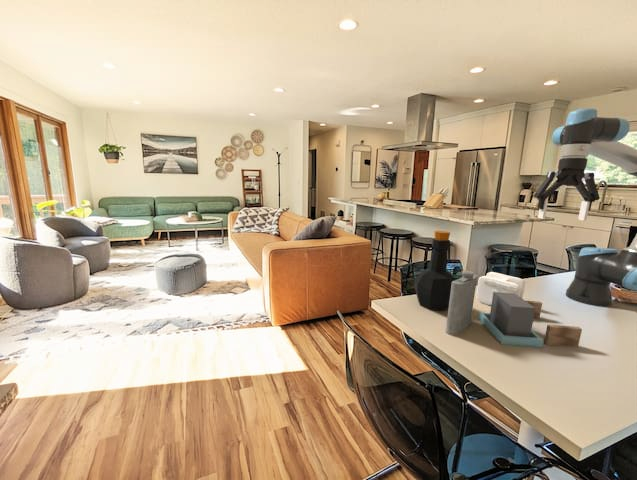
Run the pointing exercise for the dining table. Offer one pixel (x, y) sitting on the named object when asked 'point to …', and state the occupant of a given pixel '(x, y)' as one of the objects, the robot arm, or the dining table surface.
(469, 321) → the hip flask
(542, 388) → the dining table surface
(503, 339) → the teal tray
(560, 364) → the dining table surface
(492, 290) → the cable organizer
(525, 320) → the grey rectangular block
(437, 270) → the bottle
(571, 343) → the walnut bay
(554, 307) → the dining table surface
